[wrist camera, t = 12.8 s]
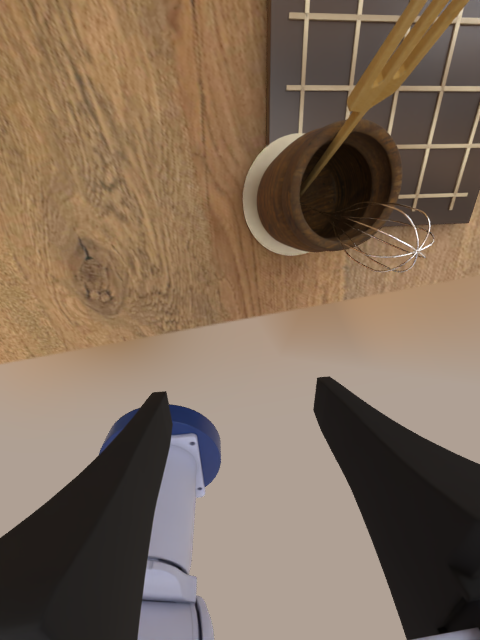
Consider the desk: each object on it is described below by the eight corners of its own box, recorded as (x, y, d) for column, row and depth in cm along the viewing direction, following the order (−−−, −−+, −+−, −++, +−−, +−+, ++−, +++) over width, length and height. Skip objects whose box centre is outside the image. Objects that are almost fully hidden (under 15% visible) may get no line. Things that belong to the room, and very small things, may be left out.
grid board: (449, 245, 20) (462, 247, 19) (242, 255, 19) (244, 258, 18) (555, -92, 13) (584, -119, 12) (232, -115, 12) (233, -147, 11)
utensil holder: (268, 257, 18) (353, 320, 7) (241, 164, 15) (306, 32, 4) (343, 228, 18) (555, 248, 7) (327, 129, 15) (631, -107, 4)
